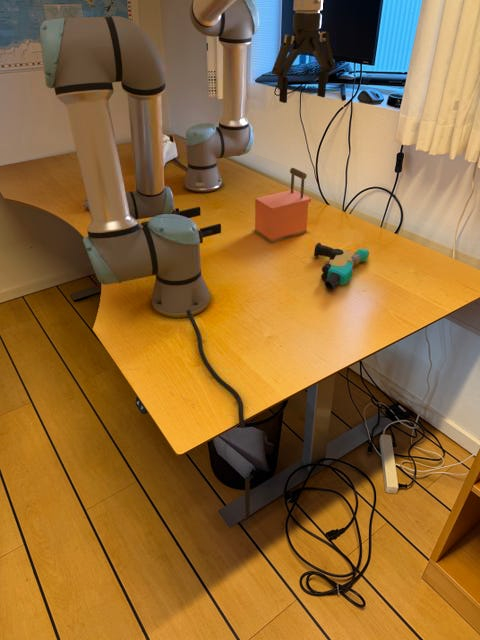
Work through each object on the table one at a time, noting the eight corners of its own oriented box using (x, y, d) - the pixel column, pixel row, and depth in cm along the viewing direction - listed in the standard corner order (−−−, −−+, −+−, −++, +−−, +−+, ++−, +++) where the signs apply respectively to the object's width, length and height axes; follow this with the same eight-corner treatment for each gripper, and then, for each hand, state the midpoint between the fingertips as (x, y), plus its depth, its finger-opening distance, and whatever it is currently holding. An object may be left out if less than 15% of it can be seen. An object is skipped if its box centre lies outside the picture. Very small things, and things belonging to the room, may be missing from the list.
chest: (289, 222, 165) (290, 193, 159) (306, 232, 159) (308, 202, 152) (254, 231, 160) (255, 201, 154) (270, 242, 153) (271, 211, 147)
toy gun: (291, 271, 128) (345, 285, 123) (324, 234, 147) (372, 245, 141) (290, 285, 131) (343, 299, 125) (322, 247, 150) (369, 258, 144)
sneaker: (133, 173, 208) (129, 144, 201) (161, 153, 230) (158, 127, 223) (155, 175, 205) (151, 146, 198) (180, 155, 227) (178, 129, 220)
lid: (293, 192, 160) (294, 165, 154) (310, 201, 153) (313, 173, 147) (255, 201, 154) (255, 173, 148) (271, 211, 147) (272, 182, 141)
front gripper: (130, 230, 146) (192, 215, 155) (161, 266, 129) (230, 247, 137) (126, 207, 142) (191, 193, 150) (159, 242, 124) (229, 224, 133)
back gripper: (276, 15, 118) (273, 106, 130) (353, 10, 128) (344, 96, 140) (260, 13, 123) (259, 102, 135) (335, 9, 133) (328, 92, 145)
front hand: (210, 219), depth 144 cm, fingers open, 13 cm apart
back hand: (302, 99), depth 138 cm, fingers open, 13 cm apart
